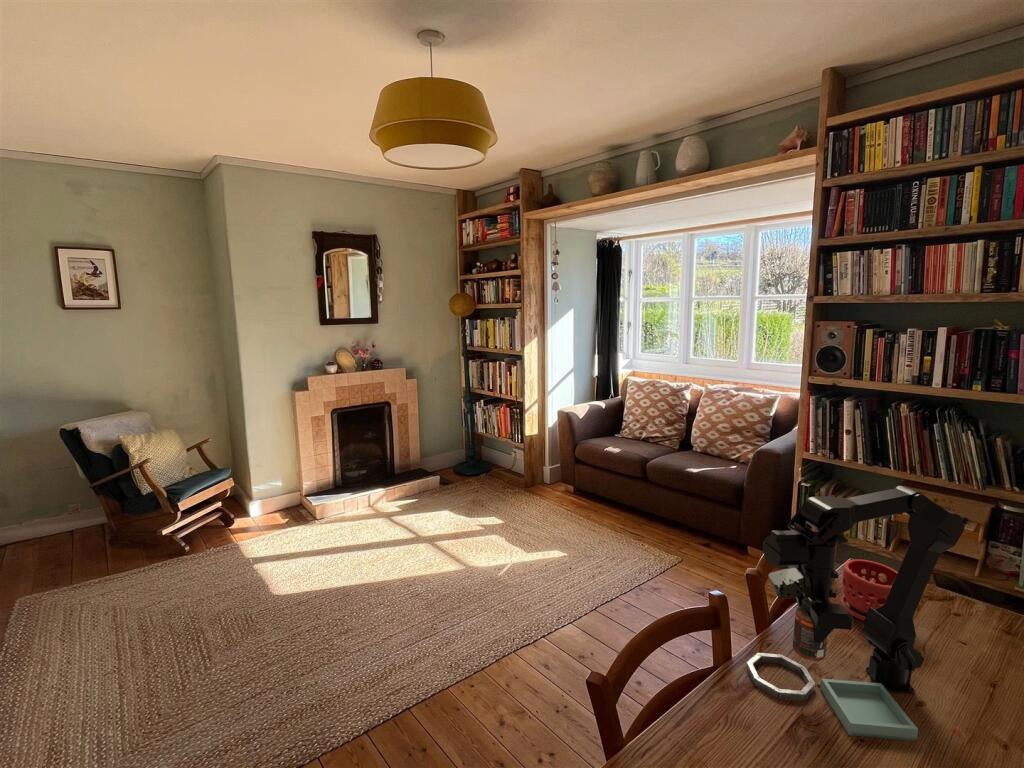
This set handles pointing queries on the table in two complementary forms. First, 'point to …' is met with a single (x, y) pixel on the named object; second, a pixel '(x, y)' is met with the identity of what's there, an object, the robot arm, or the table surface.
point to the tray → (868, 710)
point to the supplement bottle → (807, 634)
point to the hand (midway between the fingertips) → (810, 632)
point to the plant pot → (865, 586)
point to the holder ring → (774, 690)
